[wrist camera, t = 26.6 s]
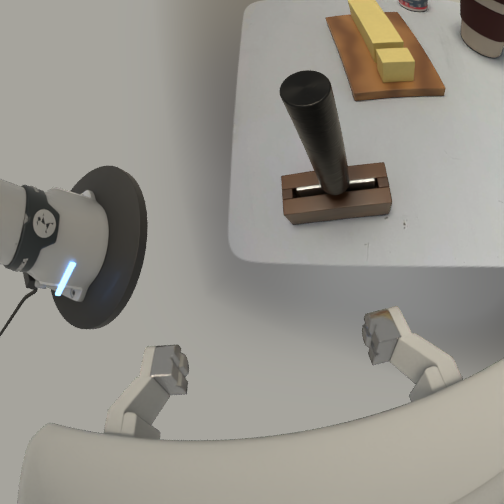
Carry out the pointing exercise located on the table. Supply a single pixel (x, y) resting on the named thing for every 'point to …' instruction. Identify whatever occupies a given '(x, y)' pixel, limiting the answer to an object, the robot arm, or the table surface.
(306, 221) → the knife holder
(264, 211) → the table surface
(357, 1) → the butter block
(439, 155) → the table surface
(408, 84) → the cutting board
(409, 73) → the butter slice
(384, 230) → the table surface
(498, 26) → the coffee cup
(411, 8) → the pill bottle
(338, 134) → the knife
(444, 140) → the table surface
